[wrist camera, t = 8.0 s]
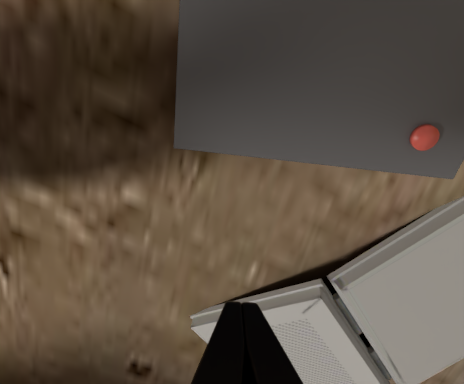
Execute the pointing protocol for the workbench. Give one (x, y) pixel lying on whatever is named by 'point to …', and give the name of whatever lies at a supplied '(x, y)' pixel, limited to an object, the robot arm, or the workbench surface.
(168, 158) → the workbench surface
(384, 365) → the gadget
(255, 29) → the camera block
